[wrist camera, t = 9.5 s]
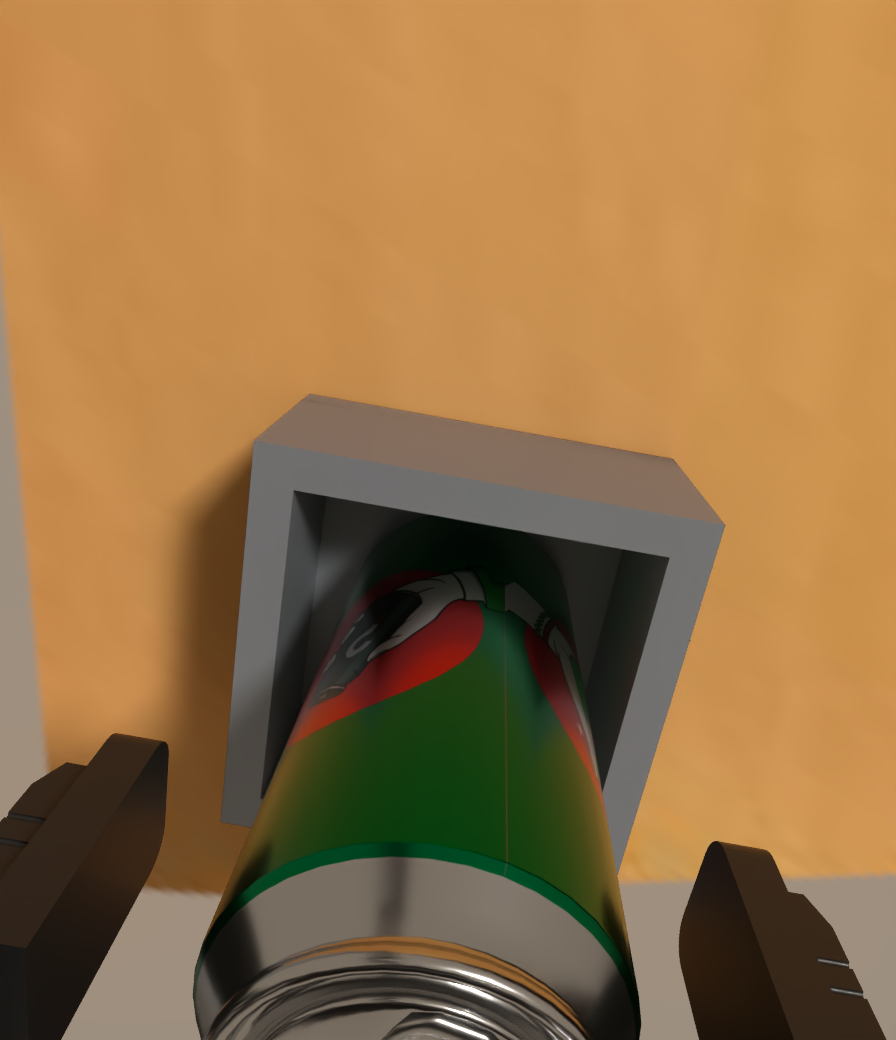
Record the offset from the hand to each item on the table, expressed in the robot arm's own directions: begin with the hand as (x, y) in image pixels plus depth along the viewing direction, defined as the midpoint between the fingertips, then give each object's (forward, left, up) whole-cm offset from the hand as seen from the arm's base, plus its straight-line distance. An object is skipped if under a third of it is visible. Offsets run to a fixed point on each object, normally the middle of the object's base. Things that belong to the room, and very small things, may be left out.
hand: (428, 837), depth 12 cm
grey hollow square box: (0, 0, -9) cm, 9 cm away
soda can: (0, 0, -8) cm, 8 cm away
